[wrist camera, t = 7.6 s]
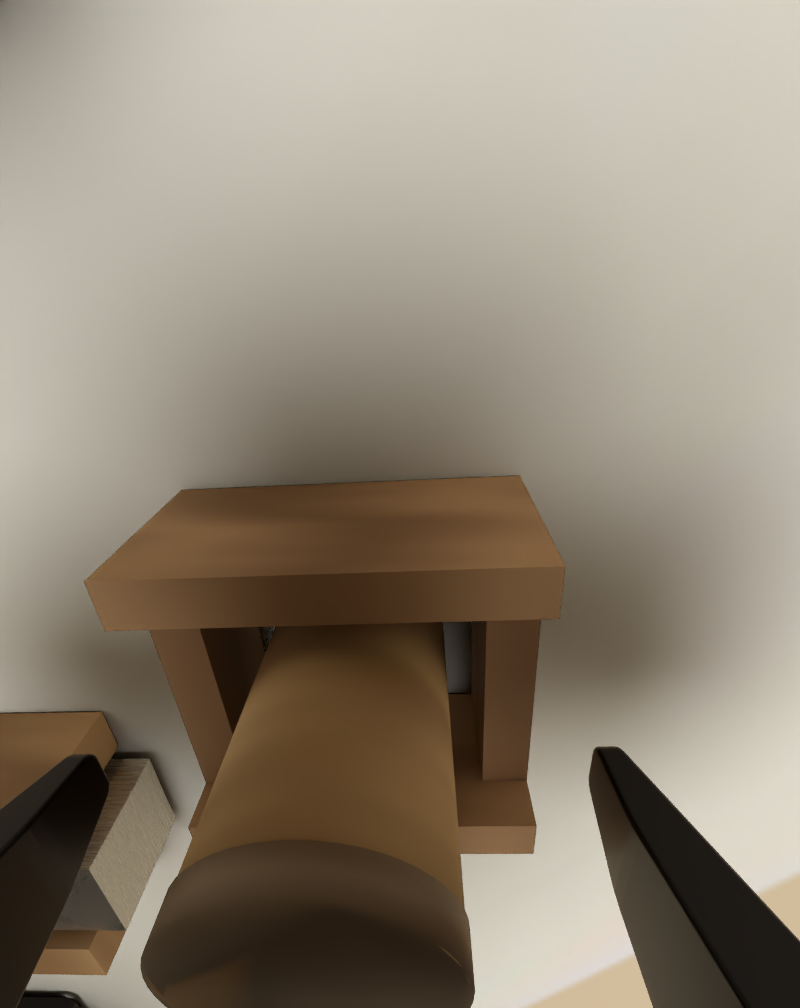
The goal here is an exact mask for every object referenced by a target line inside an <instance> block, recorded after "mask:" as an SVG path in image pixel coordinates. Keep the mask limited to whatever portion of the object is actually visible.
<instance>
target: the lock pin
mask: <svg viewBox="0 0 800 1008" xmlns="http://www.w3.org/2000/svg"><path fill="white" fill-rule="evenodd" d="M104 772H105V774H106V776H107V778H108V780H109V793H108V797H107V800H106V802H105V805H104V807H103V810H102V813H101V815H100V818H99V821H98V823H97V826H96V829H95V831H94V834H93V837H92V839H91V842H90V845H89V847H88V850H87V853H86V855H85V858H84V860H83V863H82V866H81V868H80V871H79V874H78V876H77V879H76V881H75V884H74V886H73V888H72V891H71V893H70V895H69V898H68V900H67V902H66V904H65V906H64V909H63V911H62V913H61V915H60V917H59V919H58V921H57V923H56V926H55V928H54V930H99V931H126V930H127V928H128V926H129V924H130V921H131V919H132V917H133V914H134V912H135V910H136V908H137V905H138V903H139V901H140V898H141V896H142V894H143V892H144V889H145V887H146V885H147V882H148V880H149V878H150V876H151V873H152V871H153V869H154V866H155V864H156V862H157V860H158V857H159V855H160V853H161V850H162V848H163V846H164V844H165V841H166V839H167V837H168V834H169V832H170V830H171V828H172V825H173V823H174V821H175V816H174V814H173V812H172V809H171V807H170V805H169V802H168V800H167V798H166V796H165V793H164V791H163V789H162V786H161V784H160V782H159V780H158V777H157V775H156V773H155V770H154V768H153V766H152V764H151V761H150V759H110V760H109V762H108V763H107V765H106V767H105V768H104Z"/></svg>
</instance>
